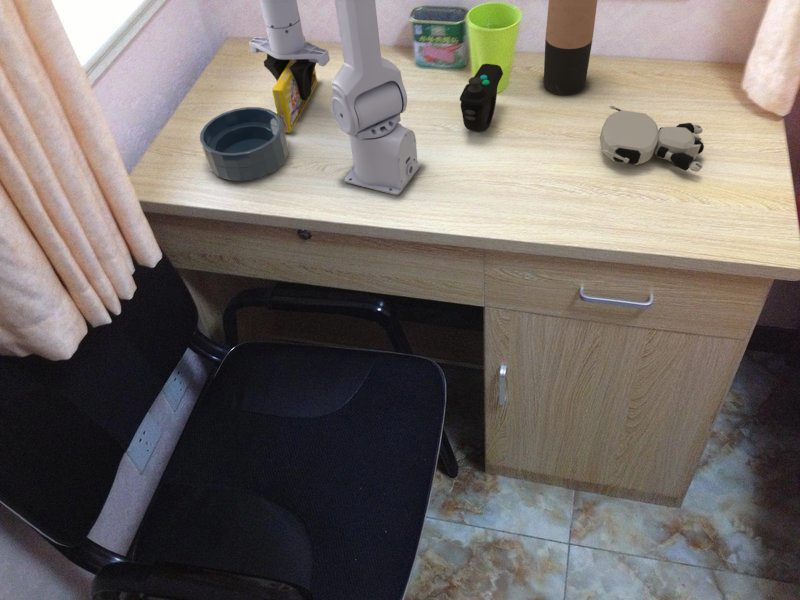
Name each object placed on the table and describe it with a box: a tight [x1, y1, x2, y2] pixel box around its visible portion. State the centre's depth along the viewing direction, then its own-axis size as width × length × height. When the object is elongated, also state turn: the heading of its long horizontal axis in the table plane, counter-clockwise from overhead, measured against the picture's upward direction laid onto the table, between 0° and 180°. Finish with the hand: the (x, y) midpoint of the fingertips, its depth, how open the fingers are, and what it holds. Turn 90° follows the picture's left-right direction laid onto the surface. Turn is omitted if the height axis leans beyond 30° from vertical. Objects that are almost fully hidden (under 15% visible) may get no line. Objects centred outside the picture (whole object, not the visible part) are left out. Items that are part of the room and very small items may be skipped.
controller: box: [459, 63, 504, 133], centre depth 111 cm, size 4×12×10 cm, turn 158°
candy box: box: [271, 41, 318, 134], centre depth 119 cm, size 16×2×8 cm, turn 168°
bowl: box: [199, 106, 290, 182], centre depth 111 cm, size 13×13×6 cm
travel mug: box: [543, 0, 598, 96], centre depth 113 cm, size 8×8×20 cm
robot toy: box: [599, 104, 705, 173], centre depth 104 cm, size 12×4×15 cm
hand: (298, 95), depth 120 cm, fingers closed on candy box, 3 cm apart
